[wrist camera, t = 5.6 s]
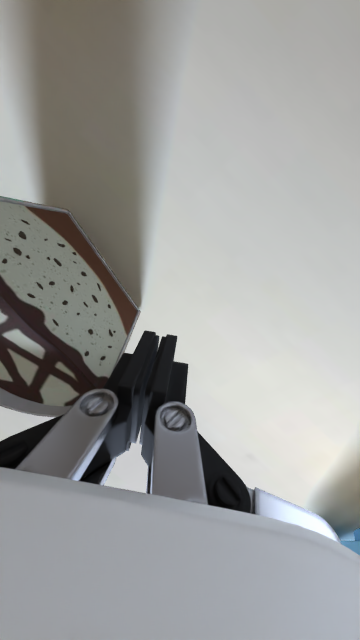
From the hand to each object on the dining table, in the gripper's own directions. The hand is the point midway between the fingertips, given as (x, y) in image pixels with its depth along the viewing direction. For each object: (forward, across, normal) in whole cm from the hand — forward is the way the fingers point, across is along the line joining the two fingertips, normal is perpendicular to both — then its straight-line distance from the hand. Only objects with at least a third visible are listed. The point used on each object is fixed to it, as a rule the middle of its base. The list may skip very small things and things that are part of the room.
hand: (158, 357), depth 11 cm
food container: (+8, +8, 0) cm, 12 cm away
